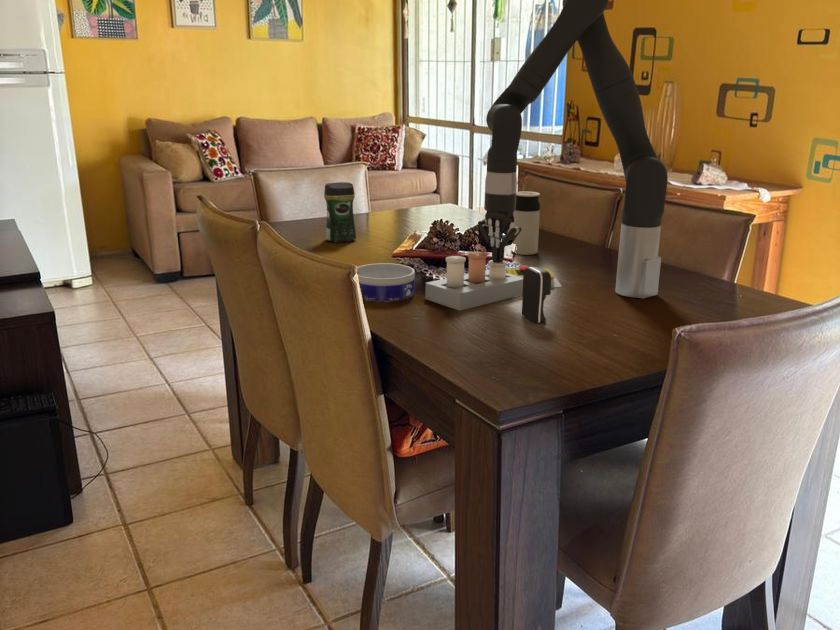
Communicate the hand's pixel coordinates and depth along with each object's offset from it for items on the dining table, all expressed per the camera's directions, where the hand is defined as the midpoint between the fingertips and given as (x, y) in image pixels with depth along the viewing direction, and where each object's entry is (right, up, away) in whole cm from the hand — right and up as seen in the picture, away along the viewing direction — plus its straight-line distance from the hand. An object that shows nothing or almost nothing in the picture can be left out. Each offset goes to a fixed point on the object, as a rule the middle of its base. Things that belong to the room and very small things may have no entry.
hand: (497, 261), depth 186 cm
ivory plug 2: (0, -7, +2) cm, 7 cm away
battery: (+6, -14, -19) cm, 24 cm away
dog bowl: (-28, -8, 0) cm, 29 cm away
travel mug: (+13, +6, +45) cm, 47 cm away
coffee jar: (-45, +11, +59) cm, 75 cm away
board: (-5, -9, -2) cm, 10 cm away
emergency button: (+10, -5, +11) cm, 16 cm away
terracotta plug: (-5, -5, -3) cm, 8 cm away
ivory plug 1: (-11, -7, -7) cm, 15 cm away
